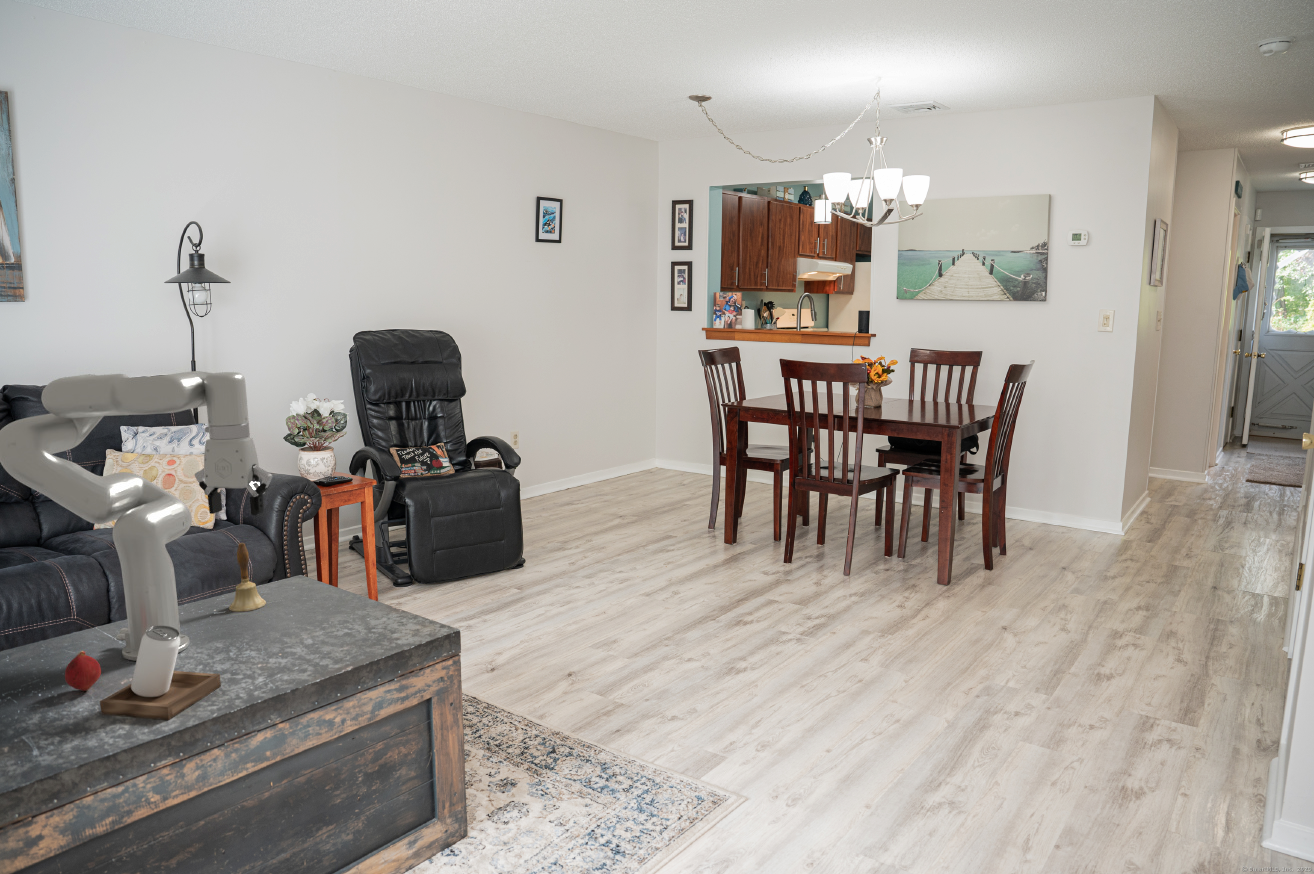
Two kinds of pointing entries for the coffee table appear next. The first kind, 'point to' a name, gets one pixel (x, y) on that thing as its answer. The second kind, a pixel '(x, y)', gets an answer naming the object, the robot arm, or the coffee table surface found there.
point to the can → (156, 661)
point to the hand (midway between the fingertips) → (236, 513)
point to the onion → (82, 672)
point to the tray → (162, 697)
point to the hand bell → (245, 586)
